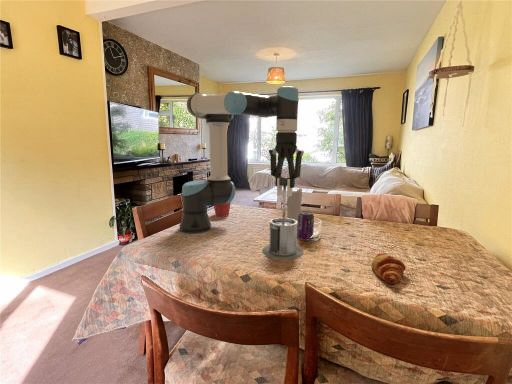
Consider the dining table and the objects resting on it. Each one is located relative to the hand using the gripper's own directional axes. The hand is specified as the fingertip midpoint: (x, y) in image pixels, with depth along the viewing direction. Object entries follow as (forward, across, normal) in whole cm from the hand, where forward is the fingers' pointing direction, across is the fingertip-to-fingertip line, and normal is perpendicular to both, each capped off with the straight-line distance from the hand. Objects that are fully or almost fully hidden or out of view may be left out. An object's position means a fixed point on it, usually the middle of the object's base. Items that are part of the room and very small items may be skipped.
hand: (284, 195), depth 105 cm
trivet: (+23, 0, 0) cm, 23 cm away
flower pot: (+23, -57, +30) cm, 68 cm away
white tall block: (+23, -17, +37) cm, 47 cm away
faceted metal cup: (+22, 0, 0) cm, 22 cm away
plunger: (+12, 0, 0) cm, 12 cm away
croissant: (+23, +37, +6) cm, 44 cm away
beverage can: (+23, 0, +21) cm, 31 cm away
